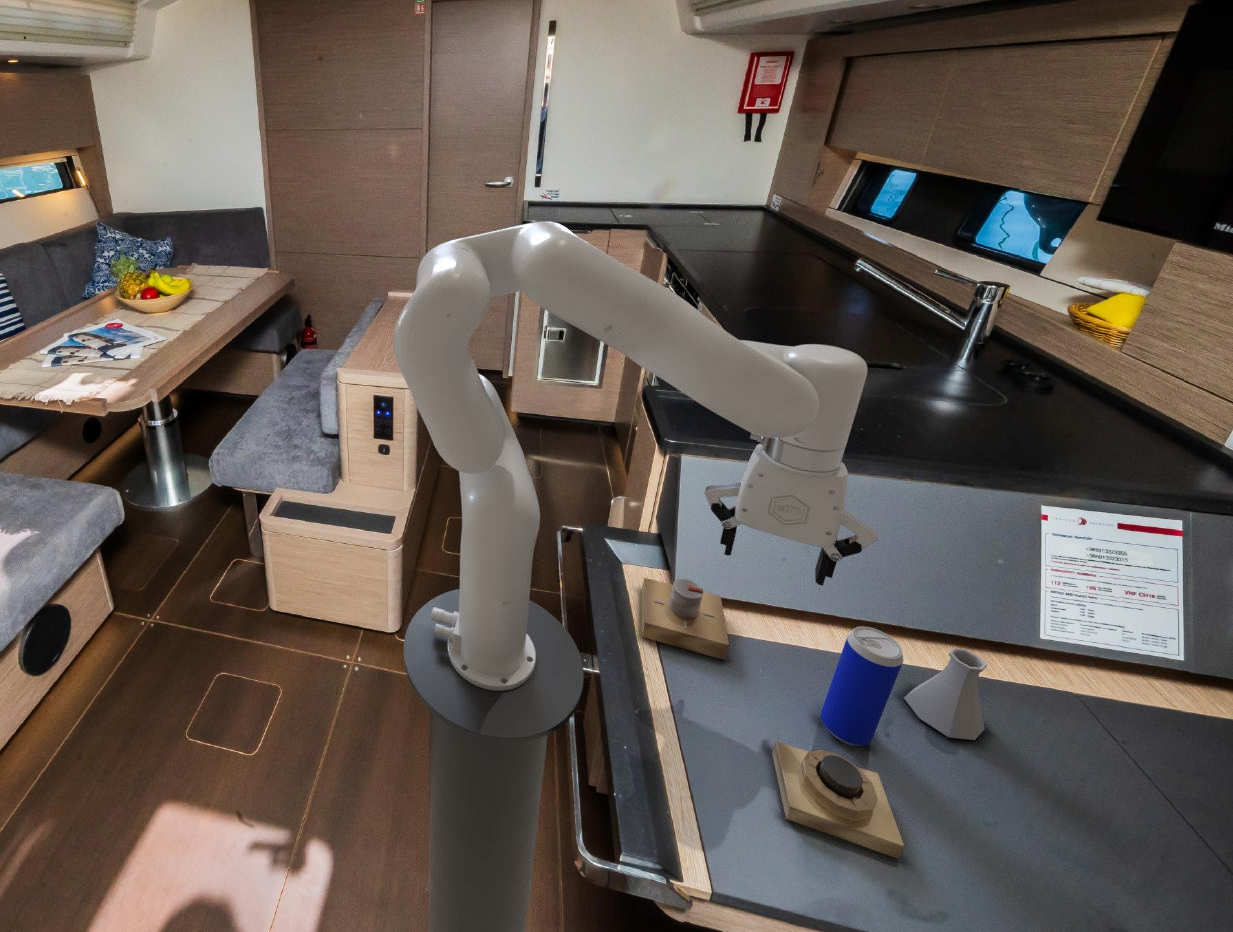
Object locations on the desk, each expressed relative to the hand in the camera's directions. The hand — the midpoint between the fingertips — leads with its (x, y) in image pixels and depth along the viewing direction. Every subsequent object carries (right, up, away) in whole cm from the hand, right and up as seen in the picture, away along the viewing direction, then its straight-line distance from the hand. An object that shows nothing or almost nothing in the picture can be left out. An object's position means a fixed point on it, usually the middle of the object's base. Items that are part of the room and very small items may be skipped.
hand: (771, 563), depth 75 cm
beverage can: (+9, -22, 0) cm, 23 cm away
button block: (+1, -25, -8) cm, 26 cm away
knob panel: (-3, -16, +16) cm, 23 cm away
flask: (+23, -20, +1) cm, 31 cm away
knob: (-3, -13, +15) cm, 20 cm away
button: (+1, -21, -9) cm, 23 cm away
